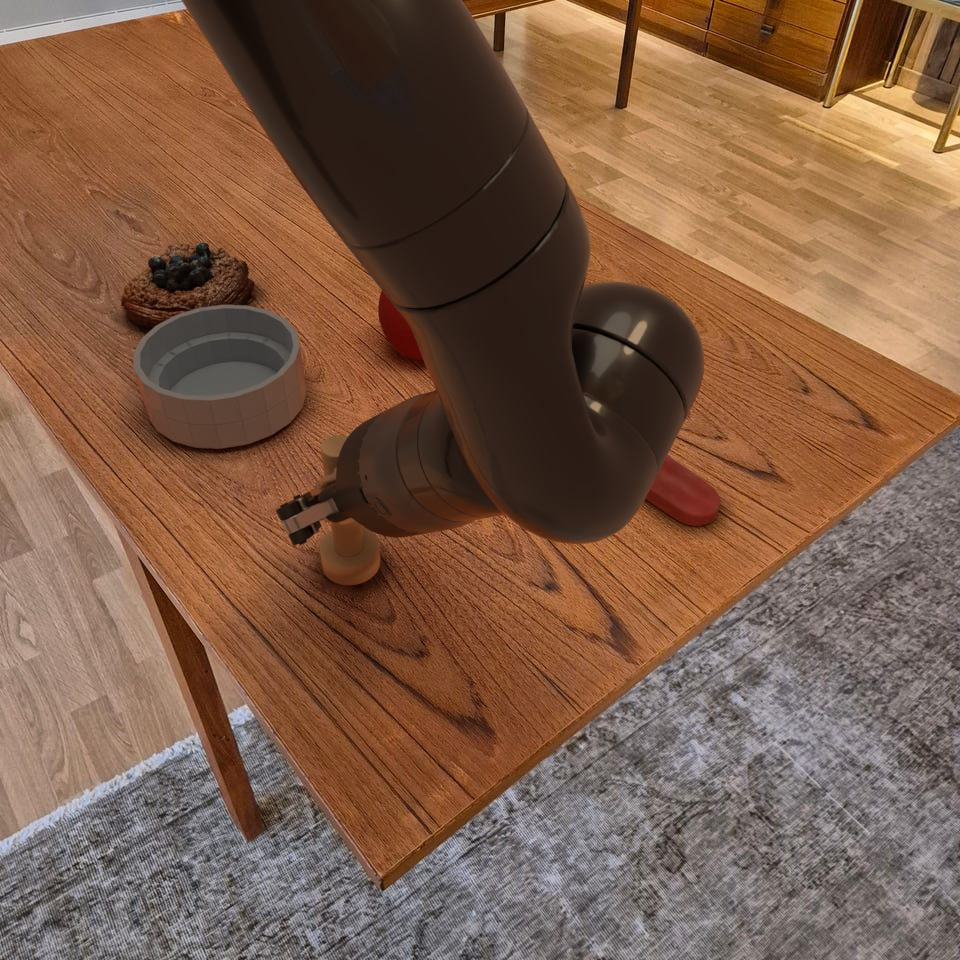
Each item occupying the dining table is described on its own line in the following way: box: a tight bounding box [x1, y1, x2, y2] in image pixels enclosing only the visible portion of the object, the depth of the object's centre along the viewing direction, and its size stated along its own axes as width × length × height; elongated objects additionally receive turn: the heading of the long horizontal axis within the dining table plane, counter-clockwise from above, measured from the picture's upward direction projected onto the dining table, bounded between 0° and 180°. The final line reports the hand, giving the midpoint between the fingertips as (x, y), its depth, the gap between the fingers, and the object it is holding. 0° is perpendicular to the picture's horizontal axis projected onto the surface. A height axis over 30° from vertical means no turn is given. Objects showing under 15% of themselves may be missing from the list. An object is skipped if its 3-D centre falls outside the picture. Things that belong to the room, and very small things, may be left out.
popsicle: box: [645, 454, 722, 527], centre depth 76 cm, size 4×2×15 cm
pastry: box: [120, 242, 257, 334], centre depth 92 cm, size 11×12×6 cm
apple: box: [377, 290, 424, 361], centre depth 86 cm, size 9×9×10 cm
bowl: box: [132, 305, 307, 450], centre depth 80 cm, size 14×14×6 cm
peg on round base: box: [319, 434, 381, 586], centre depth 64 cm, size 4×4×12 cm
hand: (329, 497), depth 65 cm, fingers closed on peg on round base, 2 cm apart
